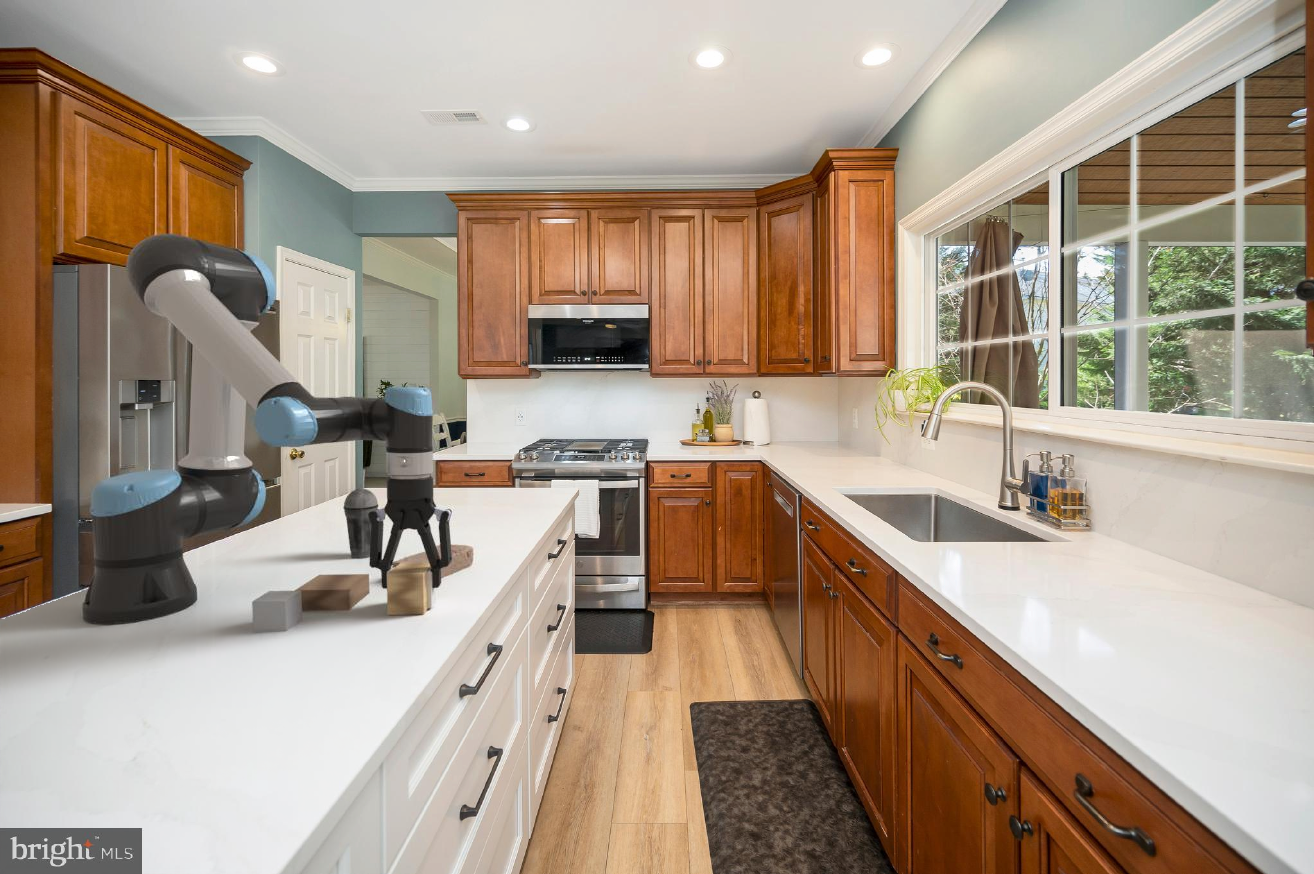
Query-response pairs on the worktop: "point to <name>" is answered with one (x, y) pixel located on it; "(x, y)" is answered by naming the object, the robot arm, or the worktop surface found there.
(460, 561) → the brick
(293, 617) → the grey block
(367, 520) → the beverage cup
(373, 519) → the robot arm
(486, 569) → the worktop surface
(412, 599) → the oak block
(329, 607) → the walnut block
